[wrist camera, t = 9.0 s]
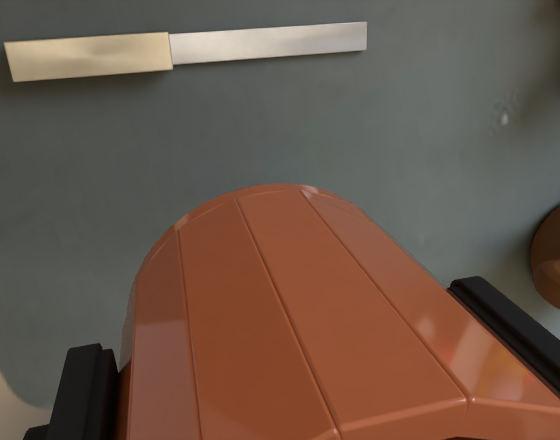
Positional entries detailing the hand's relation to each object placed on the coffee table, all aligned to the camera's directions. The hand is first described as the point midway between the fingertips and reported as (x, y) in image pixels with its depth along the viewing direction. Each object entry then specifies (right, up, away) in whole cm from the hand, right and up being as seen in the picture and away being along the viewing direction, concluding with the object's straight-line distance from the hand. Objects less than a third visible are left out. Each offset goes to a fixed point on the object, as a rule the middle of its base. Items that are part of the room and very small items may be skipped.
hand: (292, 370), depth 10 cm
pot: (0, +1, +2) cm, 2 cm away
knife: (-4, +12, +14) cm, 19 cm away
